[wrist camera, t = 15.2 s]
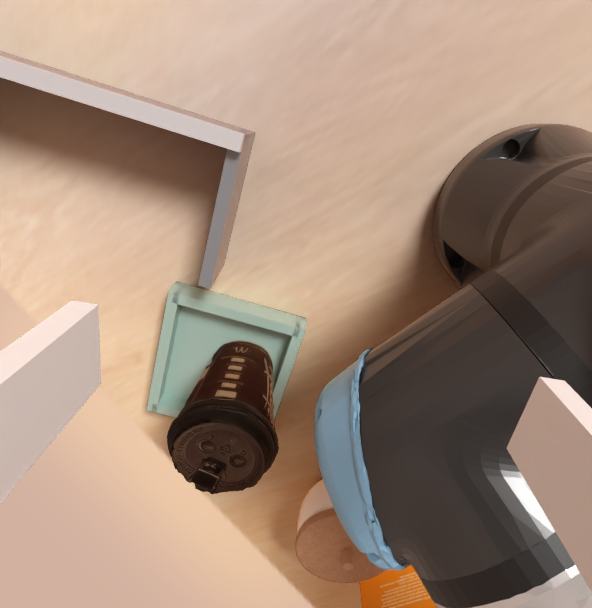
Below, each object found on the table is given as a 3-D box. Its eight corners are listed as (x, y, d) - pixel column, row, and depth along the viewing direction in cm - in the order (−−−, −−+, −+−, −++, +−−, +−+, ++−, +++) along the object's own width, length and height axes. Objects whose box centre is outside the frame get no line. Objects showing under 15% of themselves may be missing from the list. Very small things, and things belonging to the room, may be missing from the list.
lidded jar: (391, 514, 52) (408, 592, 44) (308, 526, 53) (308, 604, 45) (378, 450, 48) (393, 522, 39) (288, 464, 49) (283, 537, 41)
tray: (305, 317, 41) (305, 329, 39) (269, 424, 47) (267, 440, 45) (176, 281, 40) (168, 291, 38) (154, 395, 46) (146, 410, 43)
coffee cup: (220, 408, 45) (188, 511, 33) (186, 345, 42) (138, 434, 30) (295, 386, 44) (290, 486, 32) (265, 319, 41) (248, 402, 29)
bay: (255, 131, 34) (243, 134, 28) (223, 264, 39) (207, 292, 33) (-45, 35, 32) (-130, 15, 26) (-40, 188, 37) (-110, 203, 31)
